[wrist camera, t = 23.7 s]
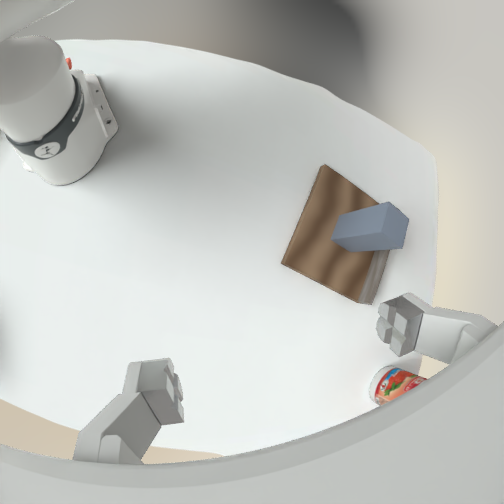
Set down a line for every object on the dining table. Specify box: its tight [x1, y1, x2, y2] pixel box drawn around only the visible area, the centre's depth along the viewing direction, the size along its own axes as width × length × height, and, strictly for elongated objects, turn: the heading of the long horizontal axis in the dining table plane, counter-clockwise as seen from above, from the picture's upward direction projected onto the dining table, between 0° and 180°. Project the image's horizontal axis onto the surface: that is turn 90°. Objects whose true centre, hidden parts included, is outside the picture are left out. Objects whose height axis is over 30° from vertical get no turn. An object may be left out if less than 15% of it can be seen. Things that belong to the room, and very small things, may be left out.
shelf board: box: [281, 164, 400, 305], centre depth 47 cm, size 18×20×4 cm
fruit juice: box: [369, 366, 428, 406], centre depth 38 cm, size 9×9×28 cm
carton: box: [330, 202, 409, 252], centre depth 42 cm, size 5×5×13 cm
